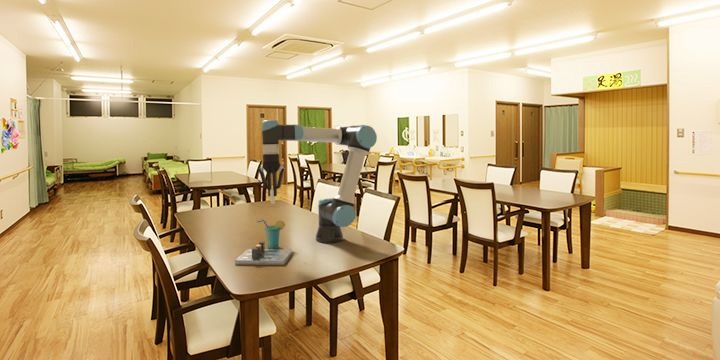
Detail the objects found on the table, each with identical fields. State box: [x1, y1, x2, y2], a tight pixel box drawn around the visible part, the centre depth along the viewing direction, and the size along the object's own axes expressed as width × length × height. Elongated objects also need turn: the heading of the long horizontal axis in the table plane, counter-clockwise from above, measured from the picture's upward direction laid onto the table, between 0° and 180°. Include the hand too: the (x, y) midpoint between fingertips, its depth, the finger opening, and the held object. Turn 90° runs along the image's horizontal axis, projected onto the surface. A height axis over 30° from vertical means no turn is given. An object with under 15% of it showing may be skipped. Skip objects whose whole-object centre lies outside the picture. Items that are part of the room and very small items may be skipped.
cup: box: [256, 219, 286, 249], centre depth 204 cm, size 14×8×15 cm, turn 112°
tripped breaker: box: [254, 244, 261, 254], centre depth 186 cm, size 2×2×4 cm
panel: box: [234, 241, 293, 266], centre depth 186 cm, size 22×18×6 cm
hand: (272, 203), depth 189 cm, fingers closed
